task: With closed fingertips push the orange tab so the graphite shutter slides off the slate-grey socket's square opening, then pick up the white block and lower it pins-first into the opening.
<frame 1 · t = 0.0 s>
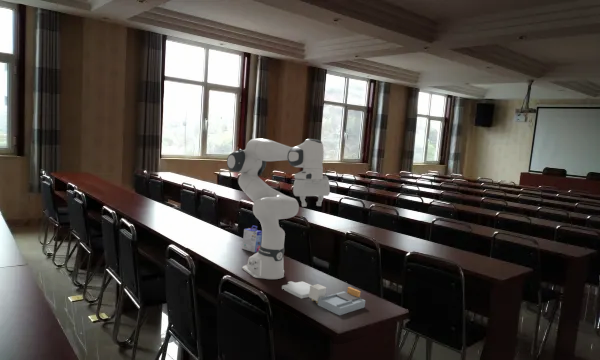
hand: (311, 206, 193), 39 cm above the table, tool pointing down, fingers open, 8 cm apart
shutter: (348, 294, 186), point 5 cm above the table, slide at 0.0 cm
socket: (340, 306, 183), on the table
ink cartridge box: (251, 250, 254), on the table
mounting plate: (301, 292, 196), on the table
white block: (316, 301, 185), on the table
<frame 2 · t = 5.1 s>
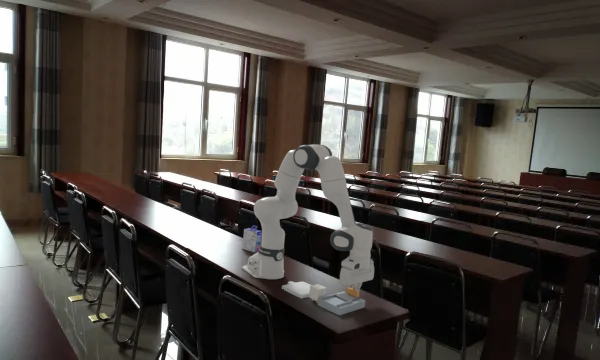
hand: (355, 292, 189), 4 cm above the table, tool pointing down, fingers closed
shutter: (347, 294, 185), point 5 cm above the table, slide at 0.7 cm, touching gripper
everything else where it was.
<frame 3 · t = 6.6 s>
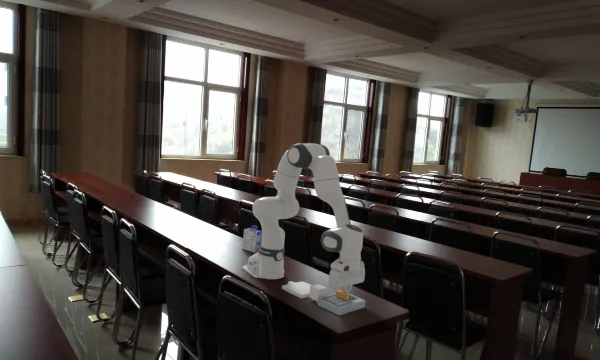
hand: (345, 295, 184), 4 cm above the table, tool pointing down, fingers closed
shutter: (337, 297, 180), point 5 cm above the table, slide at 7.7 cm, touching gripper
everything else where it was.
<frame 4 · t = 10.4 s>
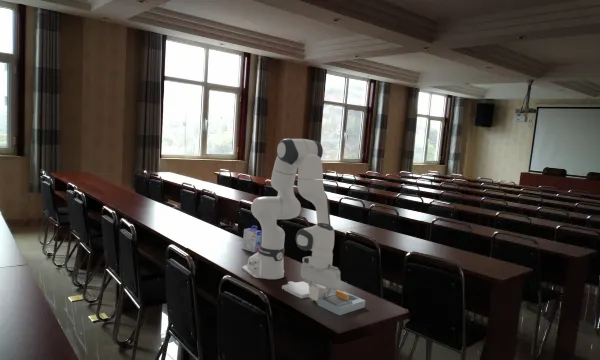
hand: (318, 293, 184), 4 cm above the table, tool pointing down, fingers open, 7 cm apart
shutter: (337, 297, 180), point 5 cm above the table, slide at 7.9 cm
everything else where it was.
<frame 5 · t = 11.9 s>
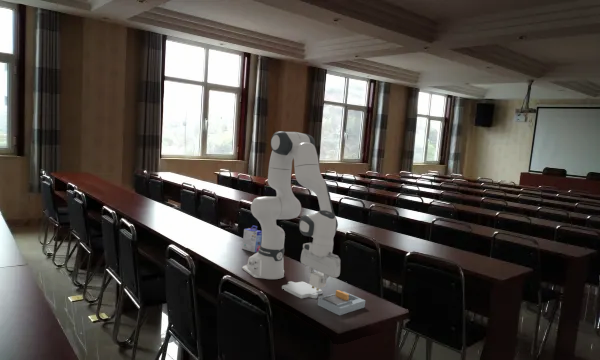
hand: (317, 280, 185), 9 cm above the table, tool pointing down, fingers closed on white block, 5 cm apart
white block: (316, 288, 186), point 5 cm above the table, touching gripper
everything else where it was.
when the fingers open (4 cm above the table, at t = 16.8 s): white block stays where it is, resting in socket.
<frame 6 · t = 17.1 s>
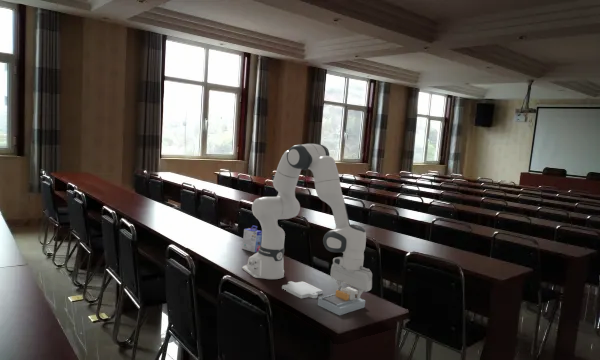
hand: (348, 294, 186), 4 cm above the table, tool pointing down, fingers open, 8 cm apart
white block: (347, 304, 186), resting in socket
everything else where it was.
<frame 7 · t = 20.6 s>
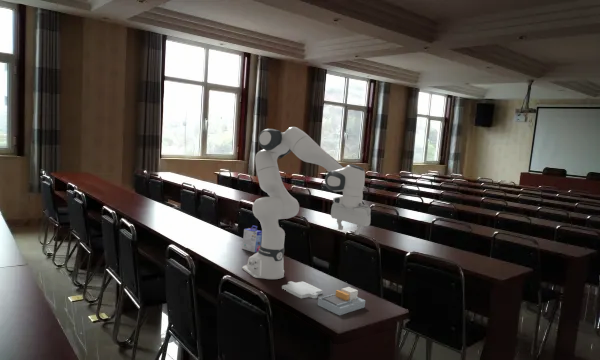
hand: (348, 232, 194), 29 cm above the table, tool pointing down, fingers open, 8 cm apart
nothing on the table moved.
at the end: shutter slide at 7.9 cm; white block 0.1 cm from the target spot on the socket, point 0.0 cm above the socket's base; white block tilted 0° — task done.
